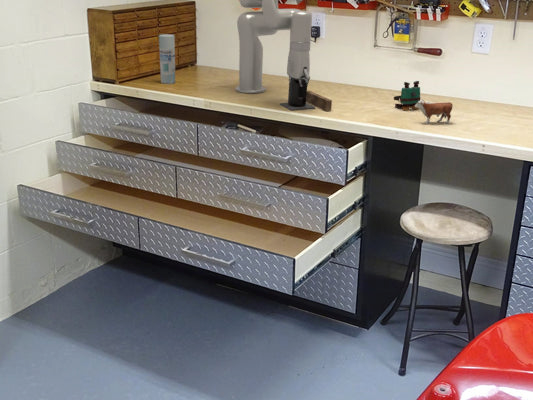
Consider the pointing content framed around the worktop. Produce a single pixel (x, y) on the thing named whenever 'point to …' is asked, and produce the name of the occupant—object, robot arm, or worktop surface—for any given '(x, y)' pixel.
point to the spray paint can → (167, 58)
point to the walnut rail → (319, 101)
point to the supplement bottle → (295, 94)
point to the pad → (297, 107)
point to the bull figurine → (435, 109)
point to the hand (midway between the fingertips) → (297, 94)
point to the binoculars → (409, 96)
